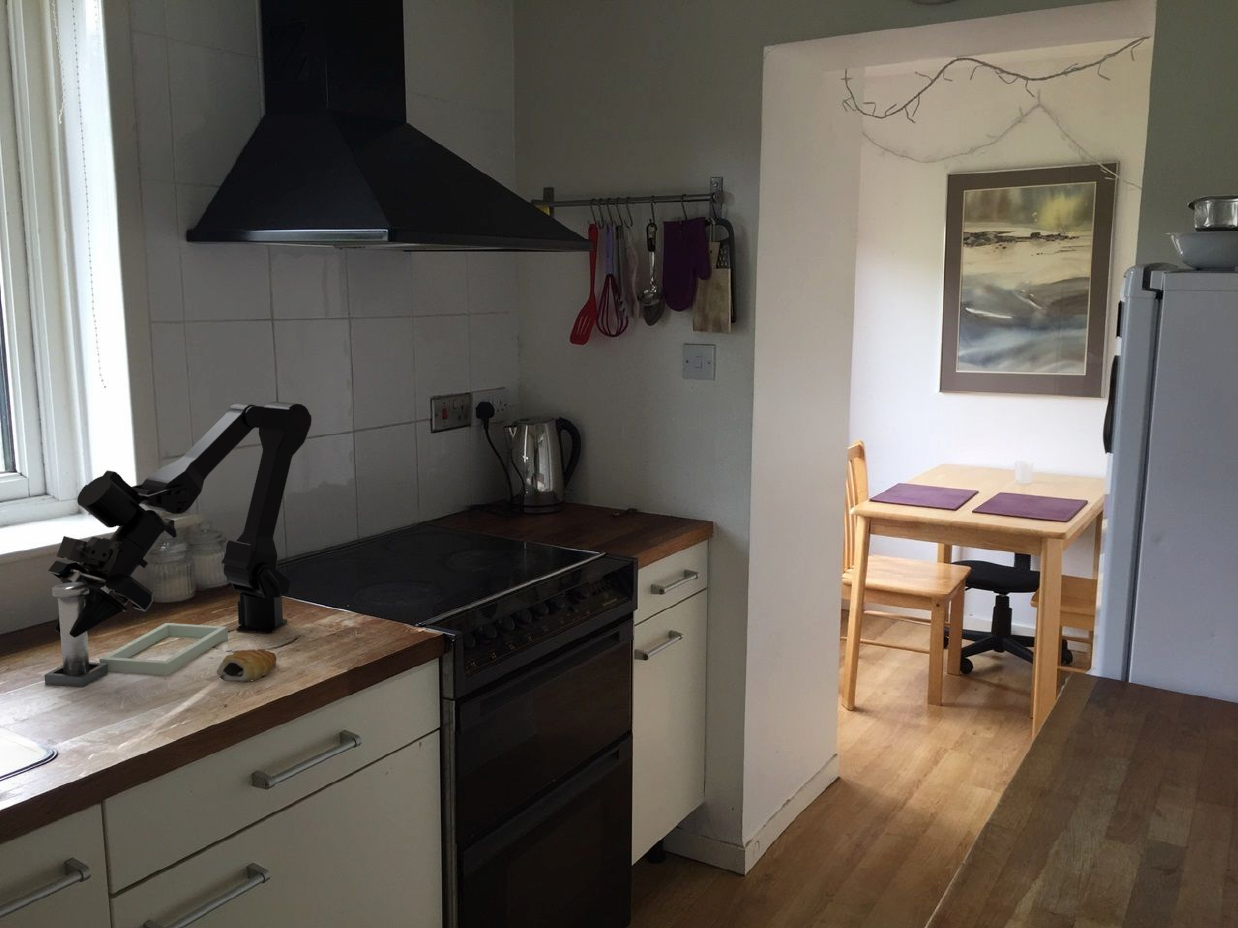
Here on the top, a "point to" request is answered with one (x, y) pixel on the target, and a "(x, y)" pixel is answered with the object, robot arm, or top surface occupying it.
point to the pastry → (247, 665)
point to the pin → (69, 611)
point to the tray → (208, 639)
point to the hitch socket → (76, 676)
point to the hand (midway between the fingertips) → (64, 633)
